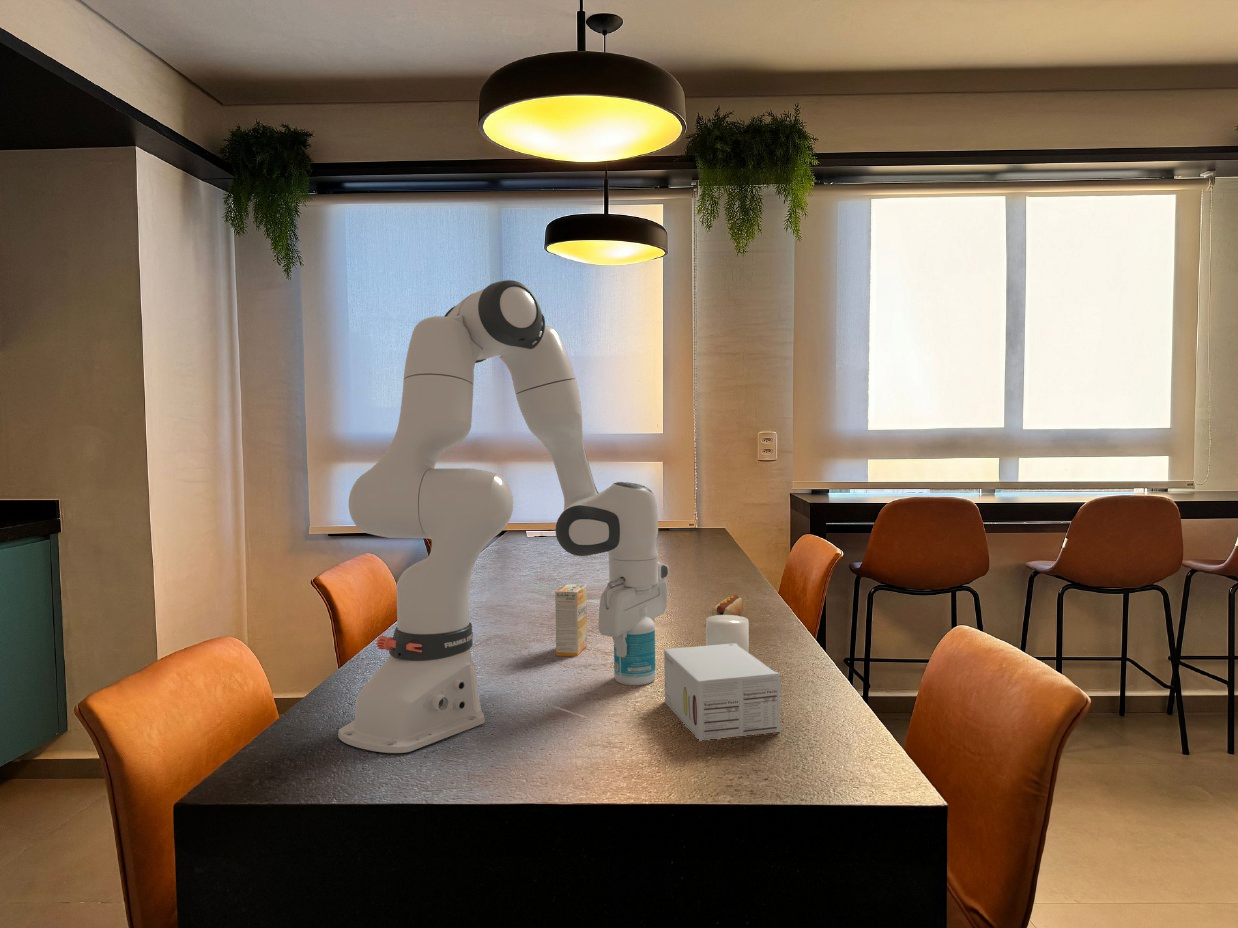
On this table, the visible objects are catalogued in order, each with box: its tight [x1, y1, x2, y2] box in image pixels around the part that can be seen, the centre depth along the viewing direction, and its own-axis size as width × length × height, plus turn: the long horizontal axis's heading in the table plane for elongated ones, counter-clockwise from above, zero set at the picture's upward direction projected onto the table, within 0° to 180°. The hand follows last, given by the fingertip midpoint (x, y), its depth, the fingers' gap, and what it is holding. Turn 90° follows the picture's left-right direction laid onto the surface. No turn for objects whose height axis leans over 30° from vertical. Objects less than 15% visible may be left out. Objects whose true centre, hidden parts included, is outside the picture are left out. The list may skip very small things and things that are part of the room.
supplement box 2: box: [663, 643, 781, 742], centre depth 123 cm, size 17×13×9 cm
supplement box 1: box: [554, 583, 588, 657], centre depth 161 cm, size 8×5×13 cm, turn 168°
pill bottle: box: [613, 606, 656, 686], centre depth 141 cm, size 8×7×14 cm
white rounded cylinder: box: [705, 615, 750, 653], centre depth 149 cm, size 8×8×9 cm
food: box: [711, 594, 744, 616], centre depth 187 cm, size 14×6×5 cm, turn 157°
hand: (634, 649), depth 142 cm, fingers closed on pill bottle, 7 cm apart
